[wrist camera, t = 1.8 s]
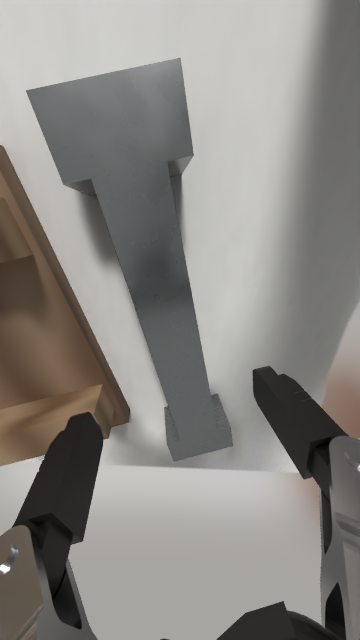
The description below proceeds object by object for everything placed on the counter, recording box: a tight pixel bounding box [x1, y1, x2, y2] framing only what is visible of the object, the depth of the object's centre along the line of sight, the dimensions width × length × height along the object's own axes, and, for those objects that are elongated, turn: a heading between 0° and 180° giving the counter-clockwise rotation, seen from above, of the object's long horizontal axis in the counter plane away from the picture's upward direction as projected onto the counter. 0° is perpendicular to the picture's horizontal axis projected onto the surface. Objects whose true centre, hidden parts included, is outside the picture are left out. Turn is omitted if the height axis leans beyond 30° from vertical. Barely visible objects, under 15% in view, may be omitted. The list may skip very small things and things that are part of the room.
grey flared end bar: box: [26, 58, 233, 461], centre depth 15 cm, size 6×26×4 cm, turn 12°
